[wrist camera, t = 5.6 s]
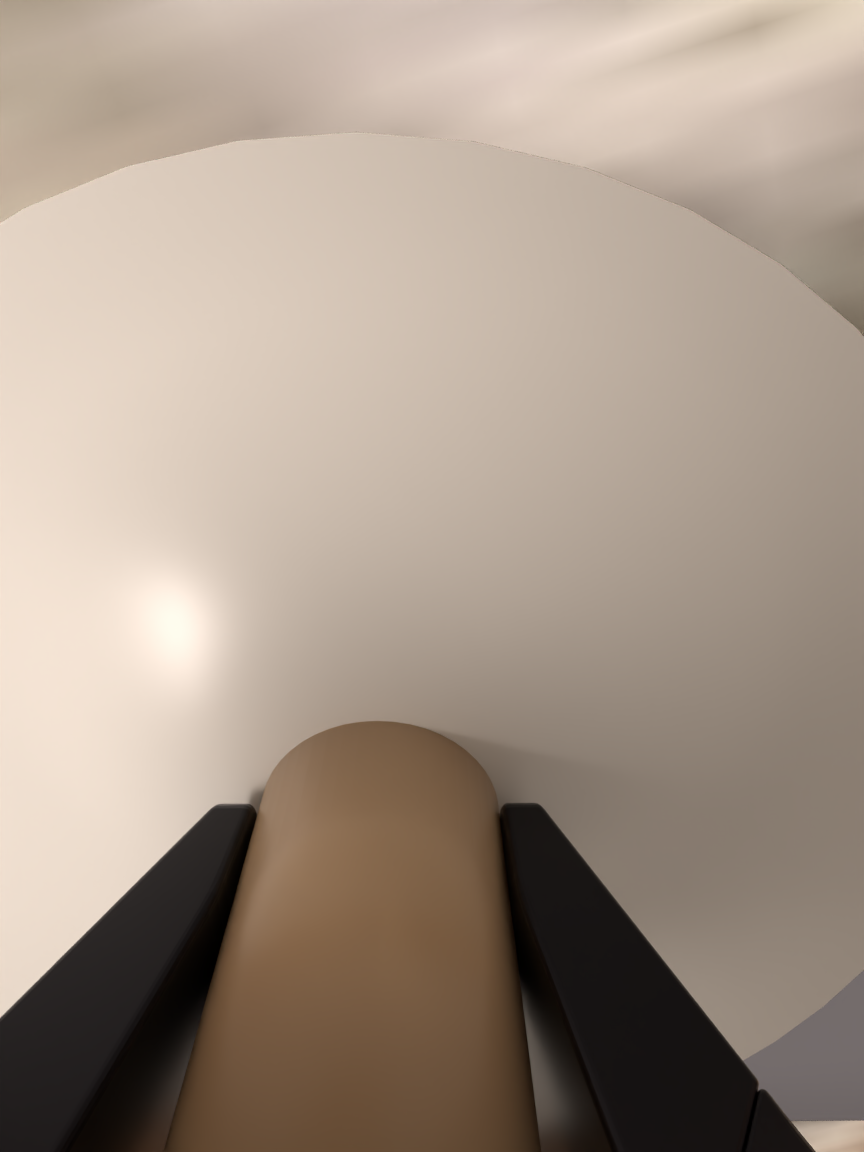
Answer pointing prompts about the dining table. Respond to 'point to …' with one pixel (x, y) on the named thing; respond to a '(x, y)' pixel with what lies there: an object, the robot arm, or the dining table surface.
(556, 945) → the robot arm
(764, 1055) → the mat
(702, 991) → the lid
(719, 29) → the dining table surface
